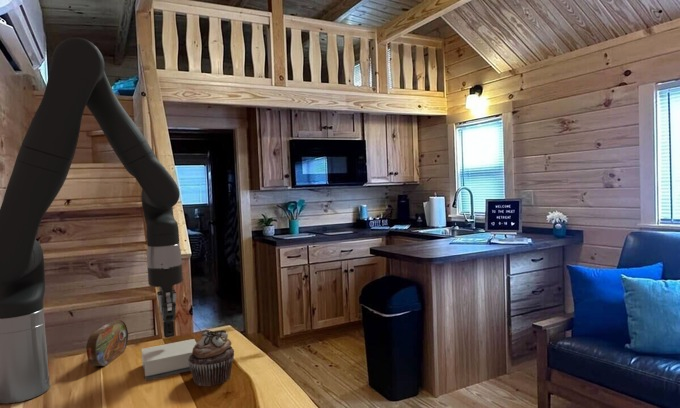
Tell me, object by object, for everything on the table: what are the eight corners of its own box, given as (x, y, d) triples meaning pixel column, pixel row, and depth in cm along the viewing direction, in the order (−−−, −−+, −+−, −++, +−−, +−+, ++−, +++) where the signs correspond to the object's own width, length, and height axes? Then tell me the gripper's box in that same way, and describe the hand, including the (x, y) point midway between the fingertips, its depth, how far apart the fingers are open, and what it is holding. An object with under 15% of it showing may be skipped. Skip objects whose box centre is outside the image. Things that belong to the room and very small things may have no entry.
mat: (145, 380, 98) (145, 378, 98) (142, 366, 106) (142, 365, 106) (202, 368, 104) (202, 366, 104) (195, 355, 111) (195, 354, 111)
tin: (98, 372, 104) (96, 336, 103) (85, 372, 104) (82, 336, 103) (130, 347, 119) (128, 316, 118) (118, 347, 119) (116, 316, 118)
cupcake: (193, 370, 103) (191, 327, 102) (237, 366, 104) (235, 324, 103) (184, 390, 93) (181, 342, 92) (232, 385, 94) (230, 338, 94)
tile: (142, 363, 107) (145, 377, 99) (141, 348, 107) (144, 362, 99) (195, 352, 112) (201, 365, 104) (194, 338, 112) (201, 350, 104)
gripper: (145, 261, 110) (150, 331, 111) (149, 270, 98) (154, 348, 99) (178, 257, 114) (182, 325, 115) (185, 266, 102) (189, 341, 103)
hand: (169, 336), depth 107 cm, fingers closed
